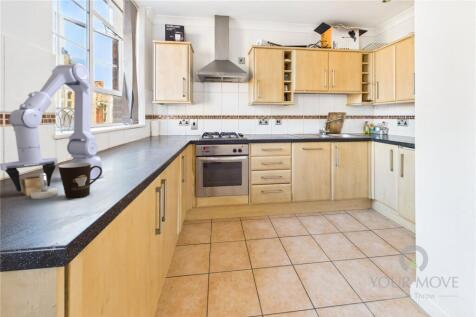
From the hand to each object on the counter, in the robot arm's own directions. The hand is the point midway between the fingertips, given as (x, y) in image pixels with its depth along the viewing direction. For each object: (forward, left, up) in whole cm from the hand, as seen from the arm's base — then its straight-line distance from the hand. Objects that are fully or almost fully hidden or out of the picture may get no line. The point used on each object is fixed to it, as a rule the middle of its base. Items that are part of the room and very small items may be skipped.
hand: (33, 188), depth 86 cm
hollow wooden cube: (0, 0, -1) cm, 1 cm away
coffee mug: (-9, +16, -2) cm, 18 cm away
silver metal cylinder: (-1, +7, 0) cm, 7 cm away
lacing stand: (-1, +7, -1) cm, 7 cm away
